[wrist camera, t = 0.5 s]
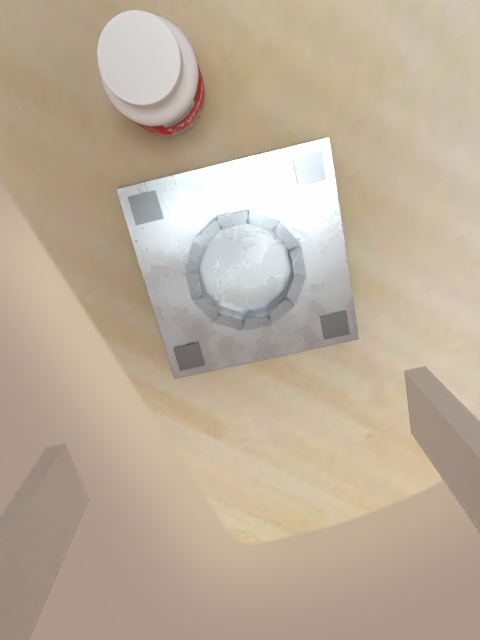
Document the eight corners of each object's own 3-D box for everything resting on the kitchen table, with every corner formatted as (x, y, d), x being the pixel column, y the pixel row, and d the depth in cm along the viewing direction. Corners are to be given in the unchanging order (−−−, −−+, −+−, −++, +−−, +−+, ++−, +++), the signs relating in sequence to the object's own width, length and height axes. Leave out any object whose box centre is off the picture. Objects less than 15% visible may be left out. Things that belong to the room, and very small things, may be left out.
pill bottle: (182, 151, 35) (161, 141, 25) (115, 109, 34) (63, 80, 24) (219, 79, 34) (214, 36, 23) (150, 32, 33) (112, -35, 22)
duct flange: (118, 188, 36) (109, 189, 34) (327, 138, 35) (334, 135, 33) (175, 375, 42) (171, 388, 39) (356, 336, 41) (365, 347, 38)
